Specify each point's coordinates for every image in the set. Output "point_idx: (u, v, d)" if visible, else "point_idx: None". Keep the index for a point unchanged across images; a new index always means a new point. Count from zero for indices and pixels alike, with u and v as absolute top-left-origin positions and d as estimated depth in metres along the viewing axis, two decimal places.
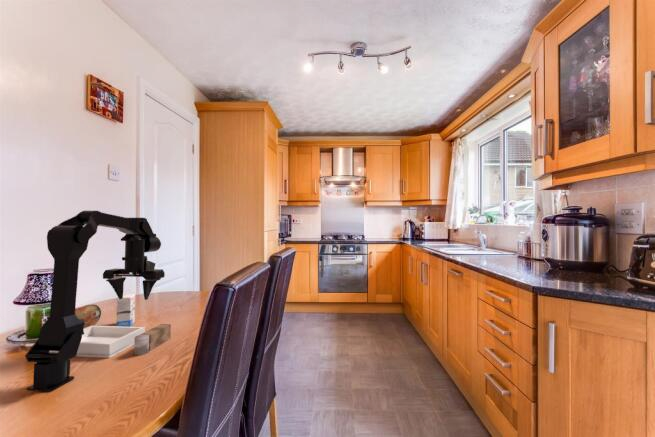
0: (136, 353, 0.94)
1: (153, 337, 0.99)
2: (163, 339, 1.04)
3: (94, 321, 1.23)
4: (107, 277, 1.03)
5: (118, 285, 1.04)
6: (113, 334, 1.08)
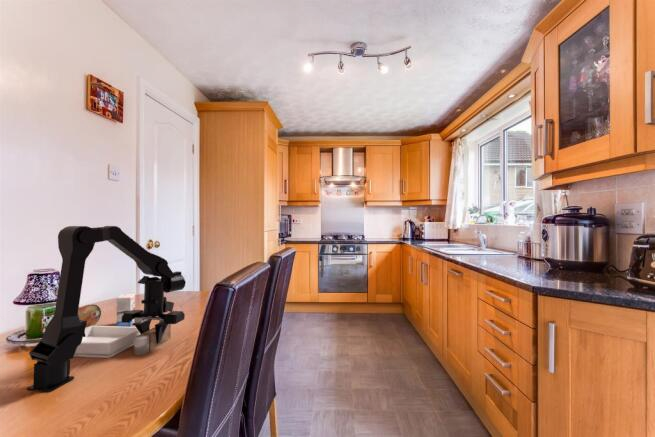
0: (136, 353, 0.94)
1: (153, 337, 0.99)
2: (163, 339, 1.04)
3: (94, 321, 1.23)
4: (126, 321, 0.99)
5: (144, 329, 1.01)
6: (113, 334, 1.08)
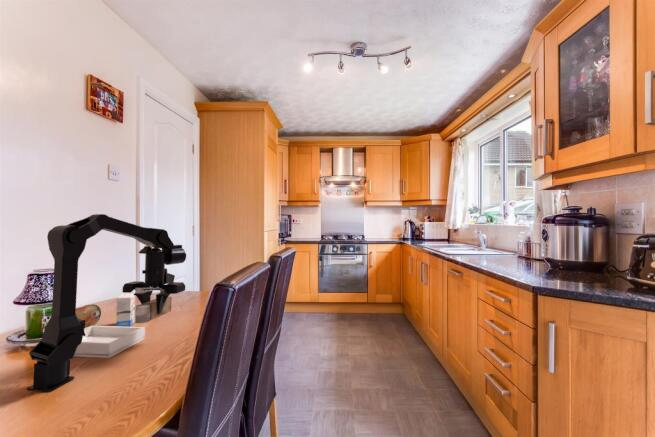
0: (137, 321, 0.94)
1: (154, 307, 0.99)
2: (163, 310, 1.04)
3: (94, 321, 1.23)
4: (127, 291, 1.00)
5: (145, 299, 1.01)
6: (113, 334, 1.08)
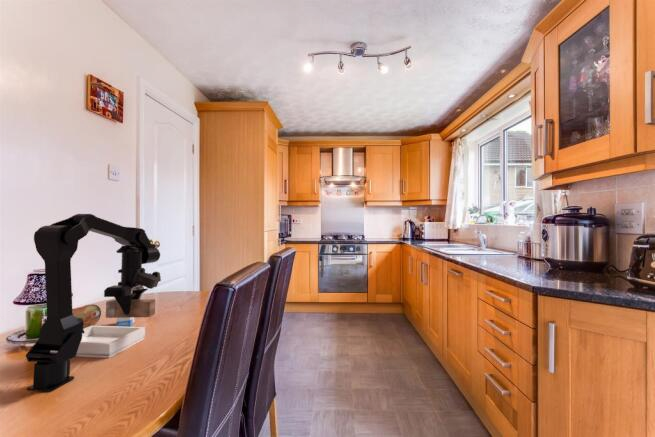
0: None
1: (119, 306, 1.00)
2: (135, 313, 1.00)
3: (94, 321, 1.23)
4: None
5: (131, 296, 1.04)
6: (113, 334, 1.08)
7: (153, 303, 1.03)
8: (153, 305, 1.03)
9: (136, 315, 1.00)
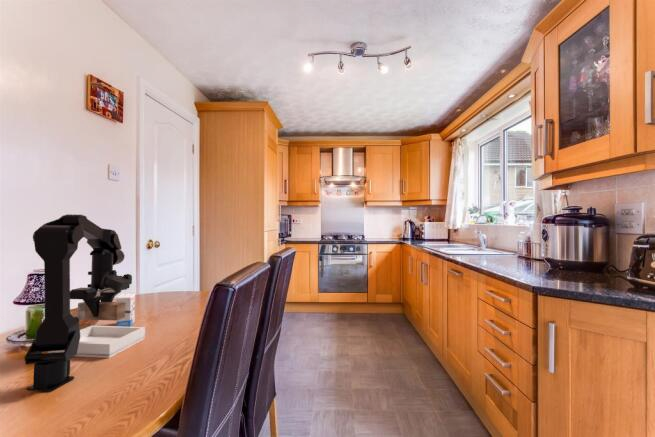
0: None
1: None
2: (104, 316, 0.99)
3: (94, 321, 1.23)
4: None
5: (103, 299, 1.03)
6: (113, 334, 1.08)
7: (122, 306, 1.01)
8: (122, 308, 1.01)
9: (104, 318, 0.99)
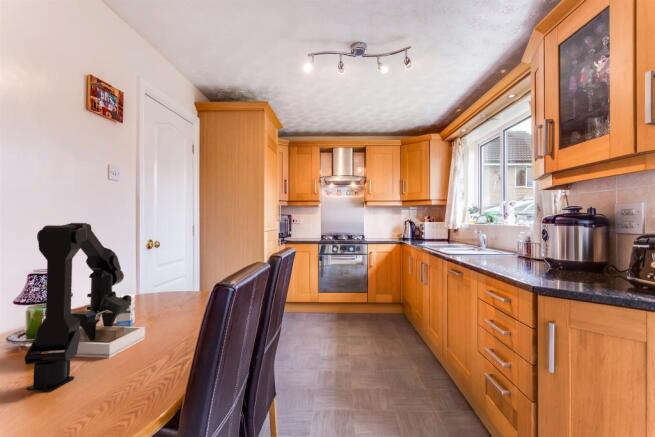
0: None
1: None
2: (103, 341, 0.99)
3: None
4: None
5: (105, 319, 1.04)
6: None
7: (121, 331, 1.01)
8: (121, 333, 1.01)
9: None
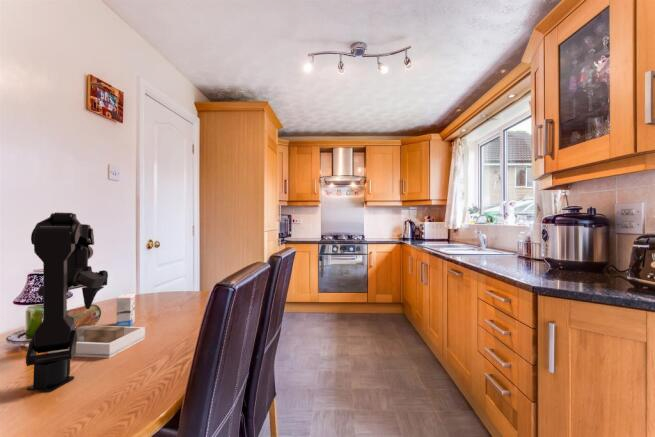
0: None
1: (88, 333, 0.99)
2: (103, 341, 0.99)
3: (94, 321, 1.23)
4: None
5: (86, 294, 1.03)
6: None
7: (121, 331, 1.01)
8: (121, 333, 1.01)
9: None
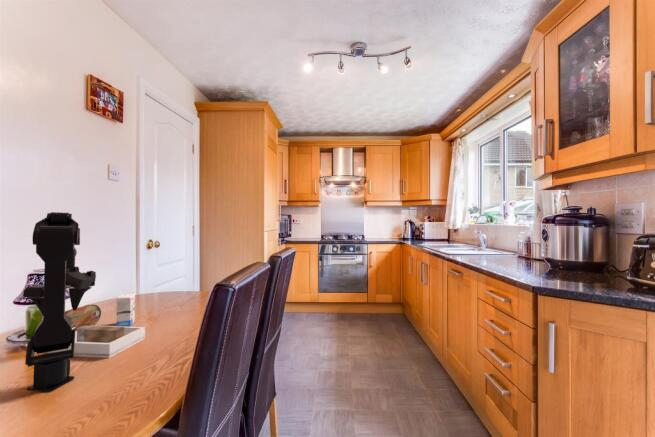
0: None
1: (88, 333, 0.99)
2: (103, 341, 0.99)
3: (94, 321, 1.23)
4: None
5: (73, 295, 1.01)
6: None
7: (121, 331, 1.01)
8: (121, 333, 1.01)
9: None
